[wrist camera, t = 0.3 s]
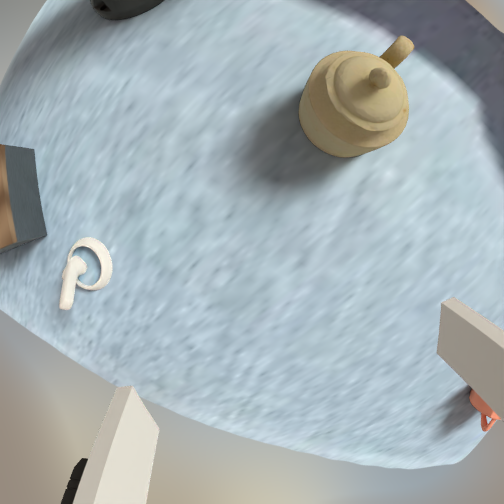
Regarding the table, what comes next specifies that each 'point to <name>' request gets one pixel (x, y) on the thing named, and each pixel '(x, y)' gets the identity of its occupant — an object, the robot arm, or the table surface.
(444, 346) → the robot arm
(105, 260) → the white ring with handle
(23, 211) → the block
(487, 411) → the teapot
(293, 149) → the table surface
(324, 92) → the sugar bowl
